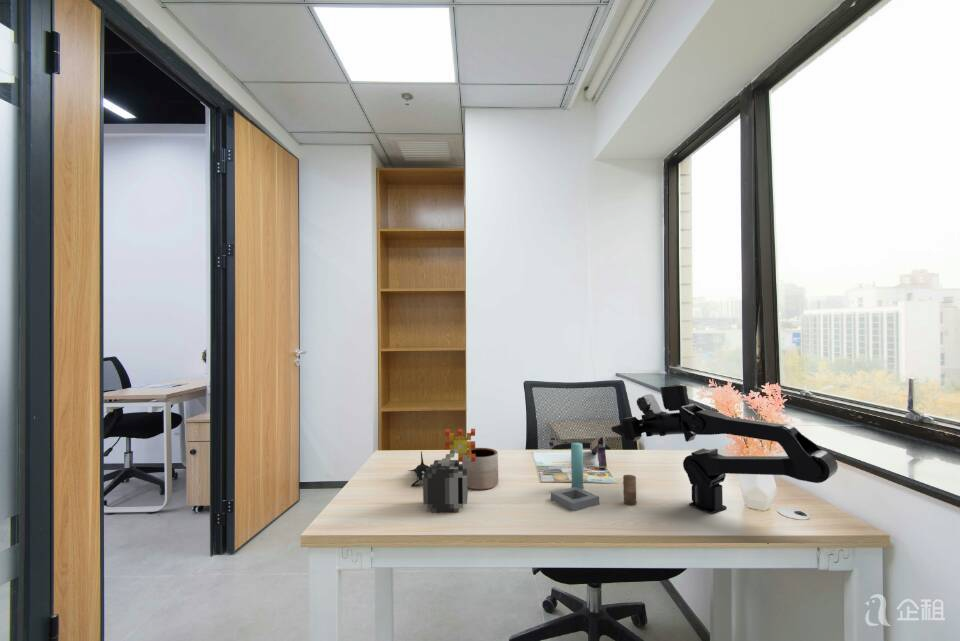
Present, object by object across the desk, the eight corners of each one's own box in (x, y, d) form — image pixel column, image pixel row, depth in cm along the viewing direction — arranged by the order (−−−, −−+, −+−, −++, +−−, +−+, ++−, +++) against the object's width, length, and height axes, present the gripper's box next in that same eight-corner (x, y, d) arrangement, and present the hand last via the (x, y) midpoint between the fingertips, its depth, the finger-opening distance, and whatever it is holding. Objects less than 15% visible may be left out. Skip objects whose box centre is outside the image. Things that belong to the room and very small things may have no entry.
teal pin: (585, 490, 131) (584, 444, 131) (576, 492, 130) (576, 445, 130) (577, 486, 134) (577, 442, 134) (569, 488, 132) (568, 443, 133)
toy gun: (598, 471, 167) (596, 443, 171) (607, 467, 148) (605, 435, 152) (591, 471, 168) (589, 443, 171) (600, 466, 148) (597, 435, 152)
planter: (489, 493, 130) (489, 459, 130) (455, 487, 134) (455, 454, 134) (503, 481, 140) (503, 449, 140) (471, 476, 144) (471, 446, 144)
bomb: (426, 501, 124) (425, 427, 124) (475, 500, 124) (475, 426, 124) (423, 513, 116) (422, 434, 116) (475, 512, 116) (475, 433, 116)
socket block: (599, 504, 121) (599, 496, 121) (572, 511, 116) (572, 503, 116) (576, 493, 128) (576, 486, 128) (550, 499, 124) (550, 492, 124)
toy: (447, 484, 134) (444, 448, 137) (414, 488, 131) (412, 452, 133) (429, 479, 153) (427, 448, 156) (400, 483, 150) (398, 451, 152)
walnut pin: (639, 504, 120) (638, 477, 121) (630, 506, 119) (629, 479, 119) (629, 500, 123) (629, 474, 123) (621, 502, 122) (620, 476, 122)
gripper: (679, 391, 133) (633, 396, 145) (644, 398, 122) (596, 403, 133) (688, 430, 131) (640, 432, 143) (652, 440, 120) (604, 442, 131)
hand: (620, 426), depth 138 cm, fingers open, 9 cm apart
